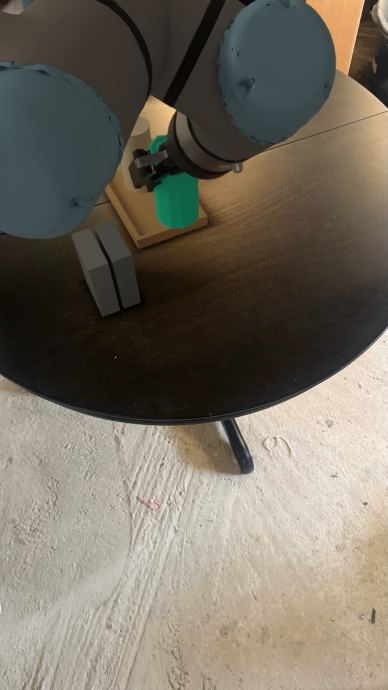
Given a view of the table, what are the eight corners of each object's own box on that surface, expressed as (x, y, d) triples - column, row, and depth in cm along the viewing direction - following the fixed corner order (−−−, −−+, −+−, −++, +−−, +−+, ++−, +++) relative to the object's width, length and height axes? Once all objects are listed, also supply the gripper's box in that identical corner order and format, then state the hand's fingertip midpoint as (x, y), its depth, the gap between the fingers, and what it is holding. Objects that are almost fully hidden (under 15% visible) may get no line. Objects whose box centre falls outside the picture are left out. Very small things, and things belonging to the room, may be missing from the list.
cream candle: (120, 178, 93) (110, 121, 83) (148, 169, 94) (141, 112, 84) (131, 196, 90) (122, 139, 80) (160, 187, 91) (154, 129, 81)
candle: (204, 203, 67) (203, 123, 57) (192, 232, 64) (189, 153, 54) (164, 196, 68) (156, 116, 58) (150, 224, 65) (139, 145, 55)
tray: (88, 162, 97) (86, 153, 95) (149, 143, 100) (148, 134, 98) (138, 249, 83) (137, 240, 82) (207, 224, 86) (207, 215, 85)
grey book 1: (86, 282, 80) (70, 234, 70) (103, 276, 80) (90, 227, 71) (102, 317, 75) (88, 270, 66) (120, 310, 76) (108, 263, 67)
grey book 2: (106, 275, 80) (93, 226, 71) (123, 269, 81) (112, 220, 72) (123, 309, 76) (112, 261, 67) (141, 302, 77) (131, 254, 68)
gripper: (133, 198, 42) (113, 221, 64) (312, 147, 45) (233, 187, 67) (106, 109, 40) (94, 165, 62) (294, 63, 43) (219, 132, 66)
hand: (166, 176), depth 65 cm, fingers closed on candle, 5 cm apart
